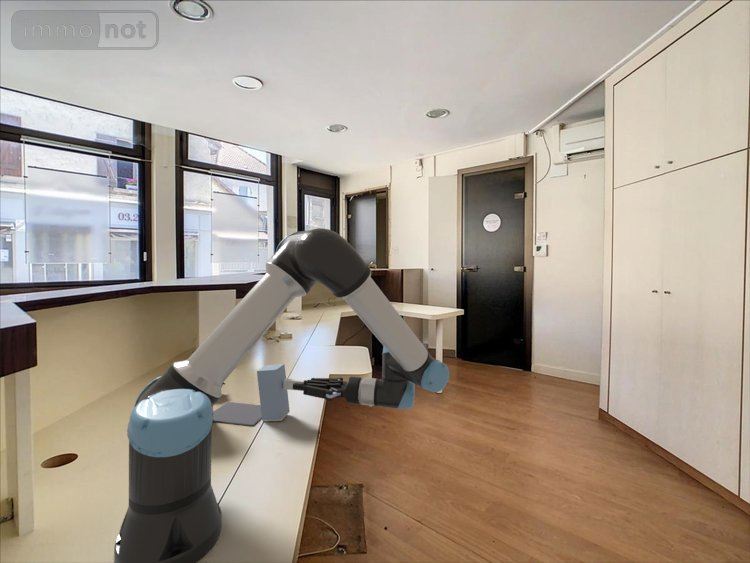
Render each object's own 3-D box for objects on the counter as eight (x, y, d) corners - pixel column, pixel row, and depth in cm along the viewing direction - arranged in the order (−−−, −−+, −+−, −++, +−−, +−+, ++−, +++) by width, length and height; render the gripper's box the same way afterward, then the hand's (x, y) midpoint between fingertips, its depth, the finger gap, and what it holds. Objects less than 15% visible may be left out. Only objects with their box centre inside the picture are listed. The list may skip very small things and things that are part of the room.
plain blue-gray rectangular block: (281, 420, 99) (275, 369, 98) (262, 421, 100) (256, 371, 99) (289, 412, 105) (284, 364, 104) (271, 412, 105) (266, 365, 105)
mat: (253, 426, 96) (253, 424, 96) (201, 420, 99) (201, 419, 99) (273, 407, 109) (273, 406, 109) (227, 403, 111) (227, 401, 111)
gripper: (355, 413, 92) (274, 404, 96) (364, 395, 105) (292, 388, 108) (356, 385, 92) (275, 378, 95) (365, 371, 104) (293, 365, 108)
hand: (284, 383), depth 102 cm, fingers closed
